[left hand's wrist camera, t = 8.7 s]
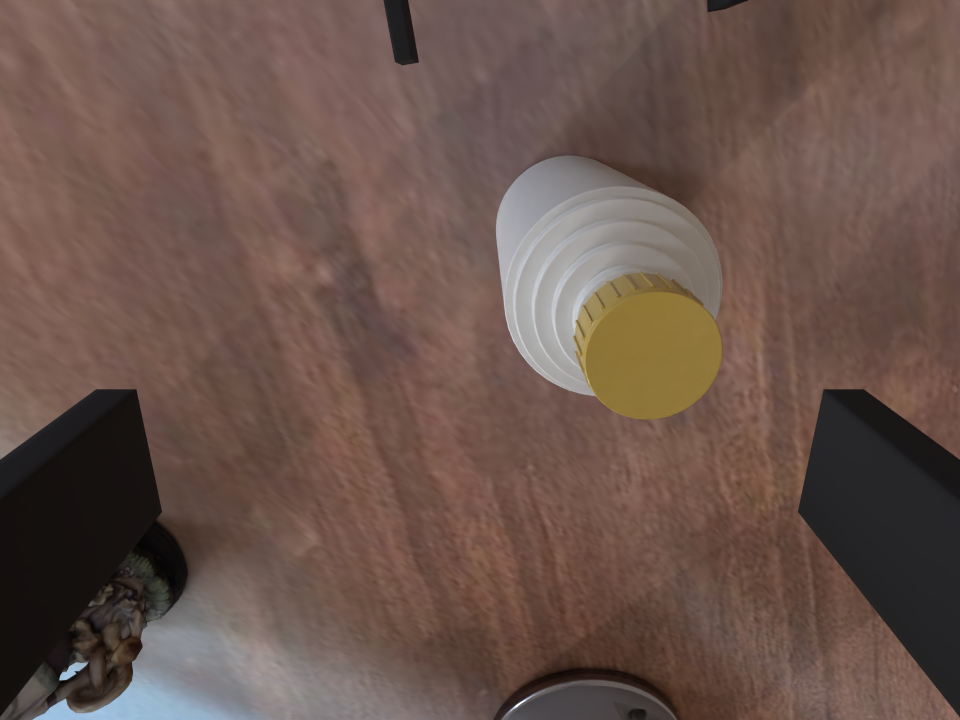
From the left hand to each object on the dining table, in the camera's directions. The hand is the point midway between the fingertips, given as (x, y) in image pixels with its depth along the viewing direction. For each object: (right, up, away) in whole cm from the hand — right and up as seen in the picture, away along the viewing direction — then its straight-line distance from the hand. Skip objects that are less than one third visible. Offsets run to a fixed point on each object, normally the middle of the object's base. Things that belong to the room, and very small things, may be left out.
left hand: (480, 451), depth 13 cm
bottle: (+5, +9, +24) cm, 26 cm away
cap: (+5, +2, +6) cm, 8 cm away
